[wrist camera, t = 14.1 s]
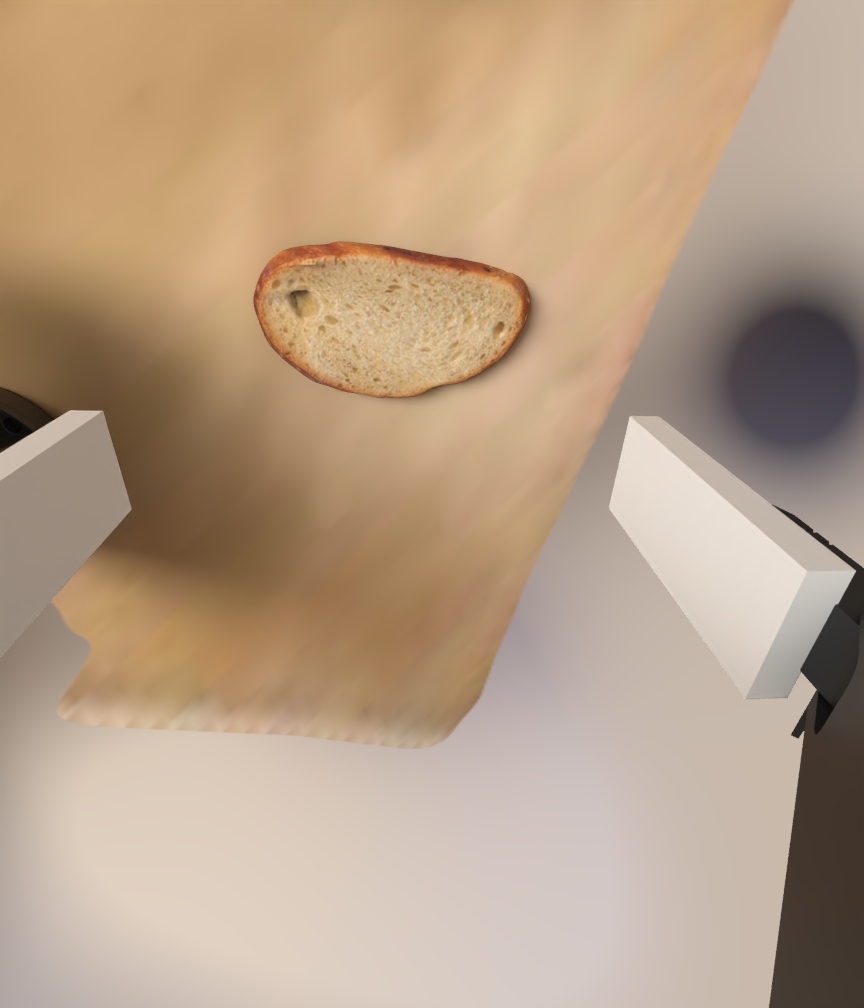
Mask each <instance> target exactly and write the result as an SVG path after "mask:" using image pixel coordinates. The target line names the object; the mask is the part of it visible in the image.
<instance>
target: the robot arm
mask: <svg viewBox="0 0 864 1008" xmlns="http://www.w3.org/2000/svg"><path fill="white" fill-rule="evenodd" d="M609 509H610V511H611V512H612V513H613V515H614V516H615V518H616V519H617V520H618V521H619V523H620V525H621V526H622V527H623V529H624V530H625V532H626V533H627V534H628V536H629V537H630V539H631V540H632V541H633V543H634V544H635V545H636V547H637V548H638V550H639V551H640V553H641V554H642V555H643V557H644V558H645V560H646V561H647V562H648V563H649V565H650V566H651V568H652V569H653V571H654V572H655V573H656V575H657V576H658V578H659V579H660V580H661V582H662V583H663V585H664V586H665V587H666V589H667V590H668V591H669V593H670V594H671V596H672V597H673V599H674V600H675V601H676V603H677V604H678V606H679V607H680V608H681V610H682V611H683V613H684V614H685V615H686V617H687V618H688V620H689V621H690V622H691V624H692V625H693V626H694V628H695V629H696V631H697V632H698V633H699V635H700V636H701V638H702V639H703V641H704V642H705V643H706V645H707V646H708V647H709V649H710V650H711V652H712V653H713V655H714V656H715V657H716V659H717V660H718V661H719V663H720V664H721V666H722V667H723V668H724V670H725V671H726V673H727V674H728V675H729V677H730V678H731V680H732V681H733V682H734V684H735V685H736V687H737V688H738V690H739V691H740V692H741V694H742V695H743V696H744V698H745V699H765V698H787V697H788V695H789V694H790V692H791V690H792V688H793V686H794V685H795V683H796V681H797V679H798V677H799V675H800V673H801V672H802V673H803V674H804V675H805V677H806V678H807V679H808V680H809V681H810V682H811V683H812V685H813V686H814V687H815V688H816V689H817V691H816V692H815V694H814V696H813V697H812V699H811V701H810V703H809V705H808V706H807V708H806V710H805V711H804V713H803V715H802V716H801V718H800V720H799V722H798V723H797V725H796V727H795V729H794V731H793V732H792V734H791V735H792V736H794V737H796V738H799V737H800V735H801V734H802V732H803V731H805V732H804V740H803V748H802V755H801V764H800V771H799V778H798V786H797V794H796V802H795V810H794V817H793V826H792V833H791V841H790V849H789V857H788V864H787V872H786V880H785V888H784V895H783V903H782V911H781V919H780V927H779V935H778V943H777V950H776V958H775V965H774V973H773V982H772V989H771V997H770V1004H769V1008H864V568H862V567H861V566H860V565H859V564H857V563H856V562H855V561H853V560H852V559H851V558H849V557H848V556H847V555H846V554H844V553H843V552H842V551H840V550H839V549H838V548H836V547H835V546H834V545H829V541H827V540H826V539H825V538H823V537H822V536H821V535H819V534H818V533H813V529H811V528H810V527H809V526H808V525H806V524H805V523H804V522H802V521H801V520H800V519H798V518H797V517H796V516H795V515H793V514H791V513H789V512H787V511H785V510H782V509H780V508H778V507H776V506H774V505H772V504H770V503H769V502H768V501H766V500H765V499H764V498H762V497H761V496H760V495H759V494H757V493H756V492H755V491H753V490H752V489H751V488H750V487H748V486H747V485H746V484H744V483H743V482H742V481H741V480H739V479H738V478H737V477H735V476H734V475H733V474H732V473H730V472H729V471H728V470H727V469H725V468H724V467H723V466H722V465H720V464H719V463H718V462H716V461H715V460H713V458H711V457H710V456H708V455H707V454H706V453H705V452H703V451H702V450H701V449H700V448H699V447H697V446H696V445H695V444H693V443H692V442H691V441H690V440H688V439H687V438H686V437H684V436H683V435H682V434H681V433H679V432H678V431H677V430H675V429H674V428H673V427H672V426H670V425H669V424H668V423H667V422H665V421H664V420H663V419H661V418H660V417H659V416H630V419H629V423H628V428H627V432H626V436H625V440H624V445H623V449H622V453H621V457H620V462H619V467H618V471H617V475H616V479H615V484H614V488H613V492H612V497H611V501H610V505H609ZM131 510H132V508H131V504H130V501H129V498H128V494H127V491H126V487H125V484H124V481H123V477H122V474H121V470H120V467H119V464H118V460H117V457H116V453H115V450H114V447H113V443H112V440H111V436H110V433H109V430H108V426H107V423H106V419H105V416H104V413H103V411H77V410H70V411H68V412H66V413H65V414H63V415H62V416H60V417H58V418H57V419H55V420H53V419H52V418H51V417H49V416H48V415H47V414H46V413H45V412H43V411H42V410H41V409H39V408H38V407H36V406H35V405H33V404H32V403H30V402H29V401H27V400H25V399H23V398H22V397H20V396H18V395H16V394H14V393H11V392H9V391H7V390H4V389H1V388H0V658H1V657H2V656H3V654H4V653H5V652H6V651H7V650H8V649H9V648H10V646H11V645H12V644H13V643H14V642H15V641H16V640H17V639H18V637H19V636H20V635H21V634H22V633H23V632H24V631H25V630H26V628H27V627H28V626H29V625H30V624H31V623H32V621H34V619H35V618H36V617H37V616H38V615H39V614H40V613H41V612H42V610H43V609H44V608H45V607H46V606H47V605H48V604H49V602H50V601H51V600H52V599H53V598H54V597H55V596H56V595H57V593H58V592H59V591H60V590H61V589H62V588H63V587H64V586H65V584H66V583H67V582H68V581H69V580H70V579H71V578H72V576H73V575H74V574H75V573H76V572H77V571H78V570H79V569H80V567H81V566H82V565H83V564H84V563H85V562H86V561H87V560H88V558H89V557H90V556H91V555H92V554H93V553H94V552H95V551H96V549H97V548H98V547H99V546H100V545H101V544H102V543H103V541H104V540H105V539H106V538H107V537H108V536H109V535H110V534H111V532H112V531H113V530H114V529H115V528H116V527H117V526H118V525H119V523H120V522H121V521H122V520H123V519H124V518H125V517H126V515H127V514H128V513H129V512H130V511H131Z"/></svg>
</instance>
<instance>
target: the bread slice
mask: <svg viewBox="0 0 864 1008" xmlns="http://www.w3.org/2000/svg"><path fill="white" fill-rule="evenodd" d="M254 308H255V311H256V314H257V317H258V320H259V322H260V325H261V328H262V330H263V333H264V335H265V337H266V339H267V341H268V343H269V344H270V346H271V347H272V348H273V349H274V350H275V351H276V352H277V353H278V354H279V355H280V356H281V357H282V358H283V359H284V360H285V361H286V362H288V363H289V364H290V365H291V366H293V367H294V368H295V369H297V370H298V371H299V372H300V373H302V374H303V375H305V376H306V377H308V378H309V379H311V380H312V381H314V382H317V383H320V384H324V385H327V386H330V387H333V388H335V389H338V390H341V391H345V392H351V393H357V394H365V395H370V396H374V397H380V398H383V397H390V398H399V397H412V396H417V395H419V394H422V393H423V392H425V391H427V390H429V389H432V388H436V387H439V386H443V385H448V384H454V383H459V382H463V381H465V380H467V379H469V378H471V377H473V376H475V375H477V374H479V373H481V372H482V371H484V370H485V369H486V368H488V367H489V366H491V365H492V364H494V363H495V362H497V361H498V360H499V359H501V358H502V357H503V356H504V355H505V354H506V353H507V351H508V350H509V349H510V348H511V346H512V345H513V343H514V342H515V340H516V338H517V337H518V335H519V334H520V332H521V331H522V329H523V327H524V325H525V322H526V319H527V316H528V313H529V311H530V296H529V292H528V289H527V286H526V284H525V282H524V281H523V280H522V279H521V278H520V277H518V276H516V275H515V274H513V273H507V272H505V271H503V270H500V269H497V268H494V267H491V266H488V265H485V264H482V263H478V262H472V261H468V260H463V259H459V258H449V257H442V256H437V255H432V254H427V253H421V252H416V251H410V250H405V249H400V248H395V247H389V246H382V245H373V244H361V243H354V242H333V243H330V244H324V245H307V246H300V247H294V248H290V249H287V250H284V251H282V252H280V253H278V254H277V255H276V256H275V257H274V258H273V259H272V260H271V261H270V262H269V263H268V264H267V265H266V267H265V268H264V270H263V271H262V273H261V275H260V277H259V280H258V283H257V286H256V290H255V293H254Z"/></svg>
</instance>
